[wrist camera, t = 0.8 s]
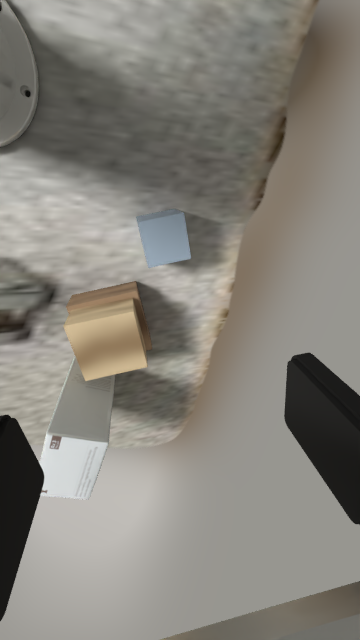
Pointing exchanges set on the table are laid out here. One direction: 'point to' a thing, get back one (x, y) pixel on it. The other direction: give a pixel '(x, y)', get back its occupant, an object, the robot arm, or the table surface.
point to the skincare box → (77, 435)
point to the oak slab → (106, 339)
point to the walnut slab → (109, 296)
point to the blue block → (164, 237)
